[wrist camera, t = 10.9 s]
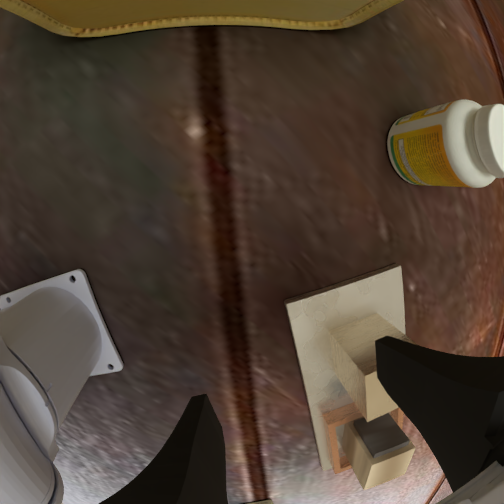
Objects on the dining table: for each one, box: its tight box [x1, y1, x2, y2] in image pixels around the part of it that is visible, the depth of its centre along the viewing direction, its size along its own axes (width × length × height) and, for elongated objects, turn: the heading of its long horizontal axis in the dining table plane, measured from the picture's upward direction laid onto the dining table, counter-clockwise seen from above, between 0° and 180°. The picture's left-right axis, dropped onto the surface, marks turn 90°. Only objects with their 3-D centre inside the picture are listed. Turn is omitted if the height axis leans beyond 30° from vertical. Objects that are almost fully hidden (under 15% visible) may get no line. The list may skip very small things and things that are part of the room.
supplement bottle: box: [387, 100, 504, 188], centre depth 15 cm, size 5×5×10 cm
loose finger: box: [341, 413, 416, 490], centre depth 20 cm, size 4×5×6 cm
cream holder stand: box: [284, 263, 417, 474], centre depth 20 cm, size 9×20×7 cm, turn 15°
